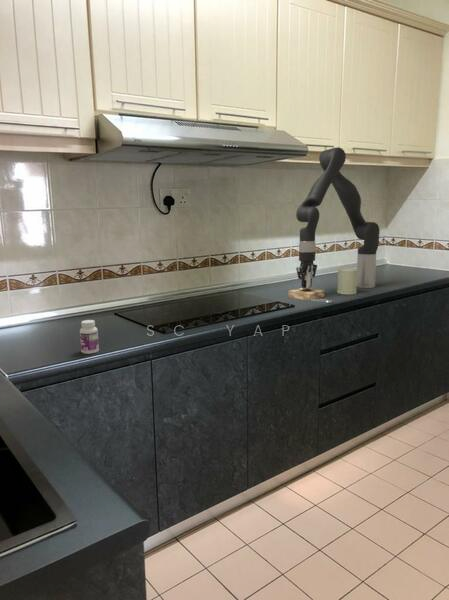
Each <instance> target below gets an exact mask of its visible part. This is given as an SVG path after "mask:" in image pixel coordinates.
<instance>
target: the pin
mask: <svg viewBox="0 0 449 600" xmlns="http://www.w3.org/2000/svg"><path fill="white" fill-rule="evenodd" d="M303 273H304V272H303ZM304 276H305V275H304ZM306 280H307V281H306V288H303V291H304V292H310V288H311V289H312V286H311V272H308V275H307V278H306Z"/></svg>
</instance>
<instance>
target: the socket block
mask: <svg viewBox="0 0 449 600" xmlns="http://www.w3.org/2000/svg"><path fill="white" fill-rule="evenodd" d="M287 293H288V298H290V299H291V298H292V299H296V300H298V299H299V300H304V301H310V298H318V299H322V298H324V297H325V290H324V289H319V288H312V287H311V288H310V292H304V291H303V288H302V287H300V288H295V289H291V290H287Z"/></svg>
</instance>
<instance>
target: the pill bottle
mask: <svg viewBox="0 0 449 600" xmlns="http://www.w3.org/2000/svg"><path fill="white" fill-rule="evenodd" d="M80 324H81V328H80V329H79V339H80V340H79V341H80V351H81V353H82V354H85V355H86V354H87V355H90V354H95V353H98V352H99V351H100V345H99V330H98V327H96V321H95V320H94V319H85V320H82V321H81V323H80Z"/></svg>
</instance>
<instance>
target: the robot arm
mask: <svg viewBox="0 0 449 600" xmlns="http://www.w3.org/2000/svg"><path fill="white" fill-rule="evenodd" d="M346 157H347V155H346V152H345V150H344V149H343V148H342V147H333V148H329V149H324V150H323V151H321V152H320V154H319V157H318V160H319V164H320V167H321V169H322V170H323V173H322V174H321V175H320V176H319V177H318V178H317V180H316V181H315V182H314V183H313V184H312V186H311V189H310V190H309V192H308V195H307V197H306V198H305V199H304V200H303V201H302V202H301V204H300V205H299V206H298V208H297V211H296V219H297V221H298V222H299V223H307V224H306V227H302V228H300V230H299V243H298V261H299V262H300V265H299V266H296V275H297V279H298V280H300V281H301V288H306V281H307V280H306V278H307V275H308V272H311V287H312V283H313V278H315V277H316V274H317V273H316V272H317V268H318V264H315V263H314V262H315V261H316V230H317V227H318V223H319V220H320V211H319V208H318V207H319V206H321V204H322V202H323V200H324V198H325V196H326V194H327V192H328V190H329V188H330V185H332V186H333V188H334V190H335V192H336V194H337V196H338V198H339V200H340V202H341V205H342V207H343V208H344V210H345V212H346V214H347V217H348V219H349V222H350V223H351V226H352V230H353V232H354V234H355V237H356V238H357V239H359V240H360V241H361V240H362V241H363V245H361V246H360V247H358V248H357V255H356V257H357V260H356V262H357V265H356V269H357V285H356V288H360V289H372V288H375V287H376V279H377V278H376V277H377V276H376V274H377V265H376V264H377V251H378V249H379V242H380V226H379V225H378V223H377V222H374V221H366V220H365V218H364V216H363V214H362V212H361V207H362V198H361V195H360V193H359V191H358V189H357V186H356V185H355V184H354V183H353V182H352V181H351V180H350V179H348V178H347V177H345V176H344V175H343V174H342V173H341V169H342V168H343V167H344V164H345V163H346ZM303 272H304V273H303ZM304 275H305V276H304Z"/></svg>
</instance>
